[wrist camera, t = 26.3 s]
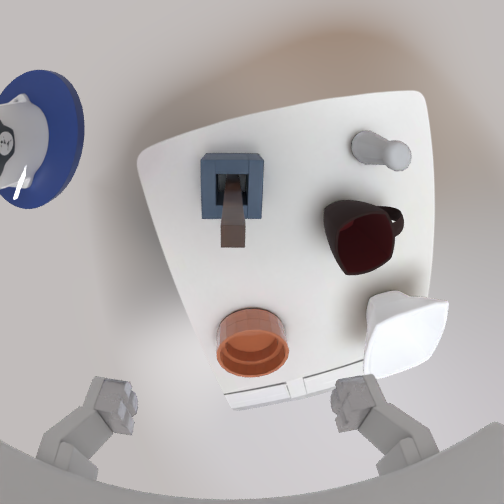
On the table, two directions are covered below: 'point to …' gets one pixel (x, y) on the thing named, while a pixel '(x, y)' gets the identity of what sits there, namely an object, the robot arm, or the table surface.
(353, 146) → the salt shaker
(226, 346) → the terracotta round dish
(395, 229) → the mug
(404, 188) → the table surface
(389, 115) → the table surface
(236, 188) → the stirring stick
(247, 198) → the box
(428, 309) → the bowl
